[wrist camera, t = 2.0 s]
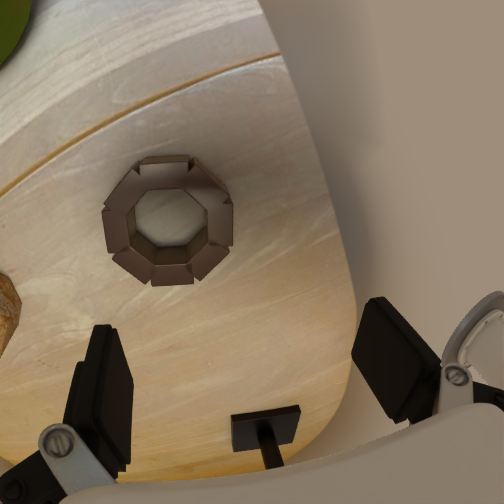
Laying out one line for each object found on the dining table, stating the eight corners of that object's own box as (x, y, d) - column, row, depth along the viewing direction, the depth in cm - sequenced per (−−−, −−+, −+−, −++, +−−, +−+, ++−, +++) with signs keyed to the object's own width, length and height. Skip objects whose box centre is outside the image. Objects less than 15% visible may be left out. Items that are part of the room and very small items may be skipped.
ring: (228, 153, 22) (234, 159, 19) (227, 263, 26) (233, 281, 23) (107, 160, 20) (96, 168, 17) (121, 269, 24) (114, 288, 21)
